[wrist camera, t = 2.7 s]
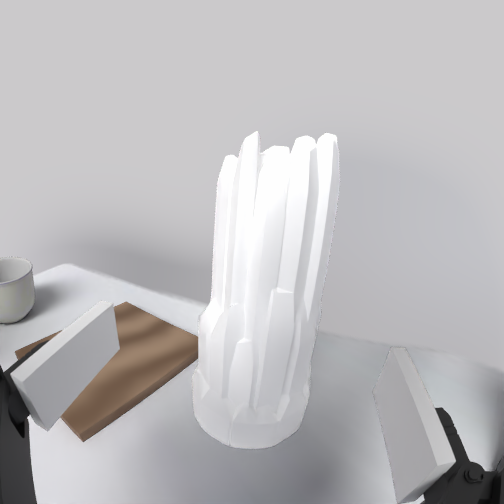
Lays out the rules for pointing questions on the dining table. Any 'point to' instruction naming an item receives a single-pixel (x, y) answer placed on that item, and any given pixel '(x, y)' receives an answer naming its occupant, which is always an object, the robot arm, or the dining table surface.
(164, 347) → the board
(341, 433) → the dining table surface
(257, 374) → the decorative vase
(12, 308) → the teacup
